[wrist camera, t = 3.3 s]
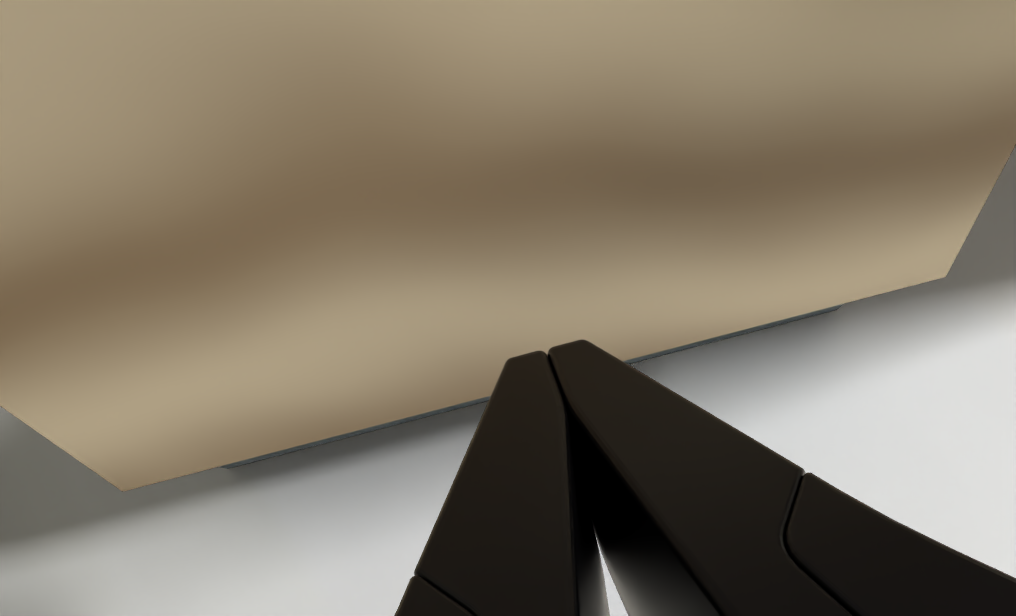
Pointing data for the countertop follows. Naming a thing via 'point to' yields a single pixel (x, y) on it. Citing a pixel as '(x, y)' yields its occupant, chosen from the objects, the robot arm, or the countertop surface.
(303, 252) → the birch lid
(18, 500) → the countertop surface
